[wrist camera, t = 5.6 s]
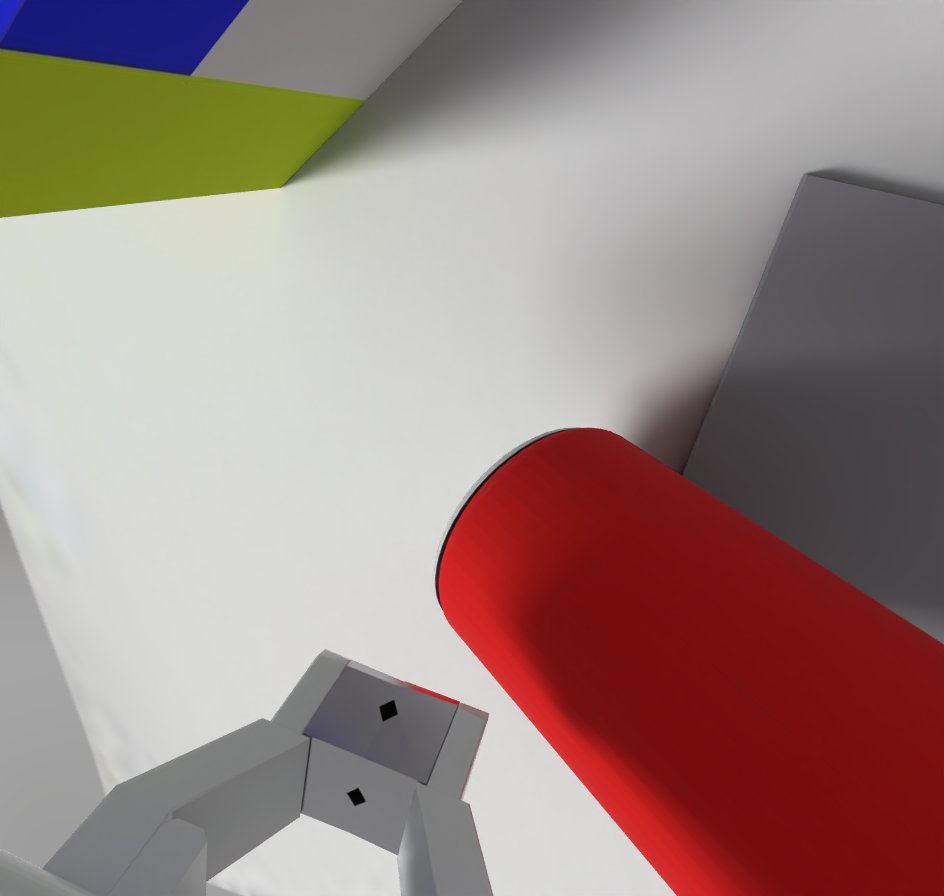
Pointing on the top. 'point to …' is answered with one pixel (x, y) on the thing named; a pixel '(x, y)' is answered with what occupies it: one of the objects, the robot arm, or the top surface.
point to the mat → (843, 396)
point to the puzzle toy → (184, 92)
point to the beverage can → (702, 675)
